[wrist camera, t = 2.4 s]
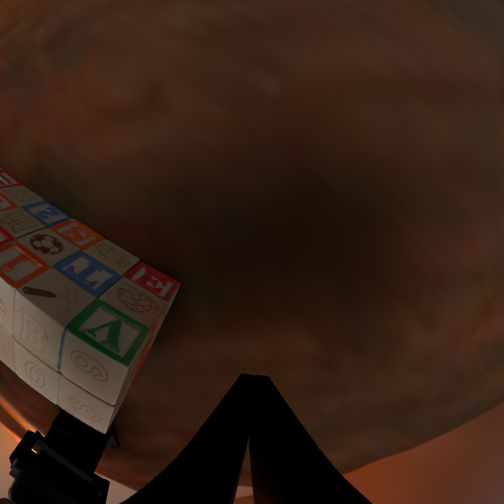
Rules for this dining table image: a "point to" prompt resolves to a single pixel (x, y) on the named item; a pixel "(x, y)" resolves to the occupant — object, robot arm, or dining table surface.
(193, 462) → the robot arm
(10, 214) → the stack of blocks
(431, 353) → the dining table surface
